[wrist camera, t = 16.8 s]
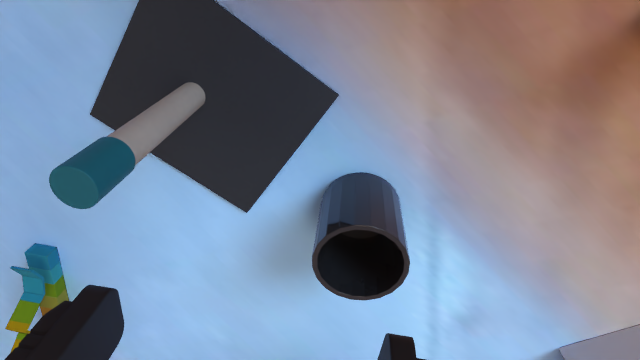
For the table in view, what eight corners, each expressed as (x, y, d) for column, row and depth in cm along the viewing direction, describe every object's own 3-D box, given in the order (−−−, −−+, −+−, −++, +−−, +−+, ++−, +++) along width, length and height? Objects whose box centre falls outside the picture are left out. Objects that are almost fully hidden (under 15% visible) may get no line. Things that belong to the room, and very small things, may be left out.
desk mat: (91, 113, 42) (89, 114, 42) (158, -41, 34) (156, -41, 34) (247, 211, 47) (246, 213, 46) (338, 94, 39) (338, 95, 38)
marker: (173, 97, 40) (42, 191, 24) (186, 74, 39) (56, 156, 22) (198, 114, 41) (89, 217, 24) (212, 92, 39) (105, 185, 23)
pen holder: (306, 211, 46) (293, 269, 37) (353, 157, 42) (352, 208, 33) (365, 250, 48) (366, 313, 39) (416, 202, 44) (430, 261, 35)
